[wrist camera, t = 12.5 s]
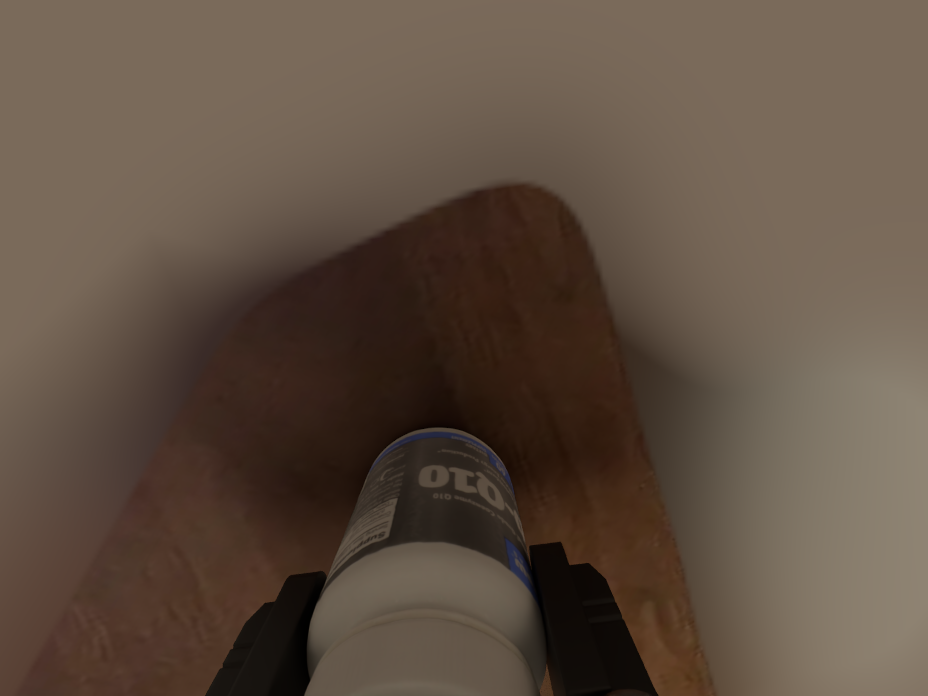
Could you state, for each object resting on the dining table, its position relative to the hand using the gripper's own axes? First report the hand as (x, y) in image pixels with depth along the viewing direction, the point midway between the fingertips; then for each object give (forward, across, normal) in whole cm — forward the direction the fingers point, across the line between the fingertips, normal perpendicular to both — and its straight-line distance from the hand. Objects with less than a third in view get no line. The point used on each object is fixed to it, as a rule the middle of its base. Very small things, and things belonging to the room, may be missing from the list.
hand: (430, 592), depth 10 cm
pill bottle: (+5, 0, 0) cm, 5 cm away
